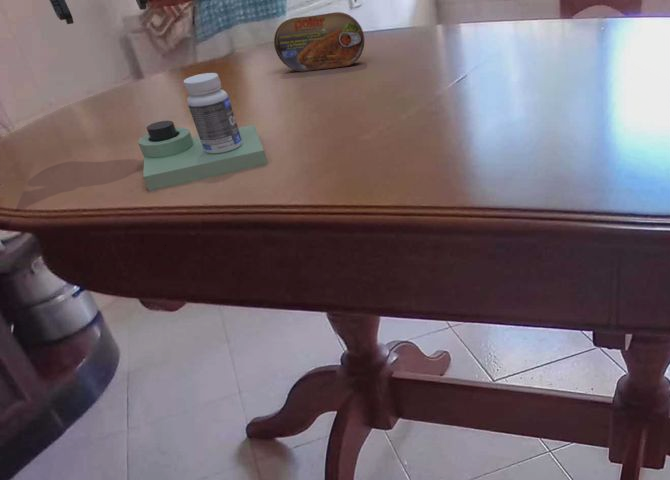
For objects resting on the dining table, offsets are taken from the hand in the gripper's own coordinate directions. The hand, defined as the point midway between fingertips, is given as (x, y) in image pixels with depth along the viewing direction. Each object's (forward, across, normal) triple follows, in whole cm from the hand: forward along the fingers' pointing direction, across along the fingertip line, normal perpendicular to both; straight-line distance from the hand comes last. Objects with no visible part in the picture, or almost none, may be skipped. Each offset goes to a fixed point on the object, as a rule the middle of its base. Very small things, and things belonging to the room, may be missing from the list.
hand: (107, 13), depth 85 cm
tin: (+4, -33, -25) cm, 41 cm away
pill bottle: (+20, -6, +3) cm, 21 cm away
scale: (+20, -3, +1) cm, 21 cm away
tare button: (+16, 0, -1) cm, 16 cm away
